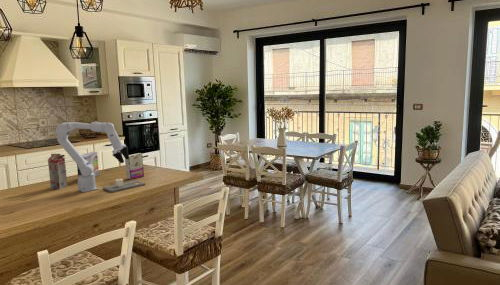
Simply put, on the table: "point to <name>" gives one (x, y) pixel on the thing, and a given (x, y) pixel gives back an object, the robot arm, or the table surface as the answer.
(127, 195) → the table surface
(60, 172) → the juice carton
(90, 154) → the cake pan box
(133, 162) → the candy bar box
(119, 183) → the fader knob
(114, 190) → the fader panel
